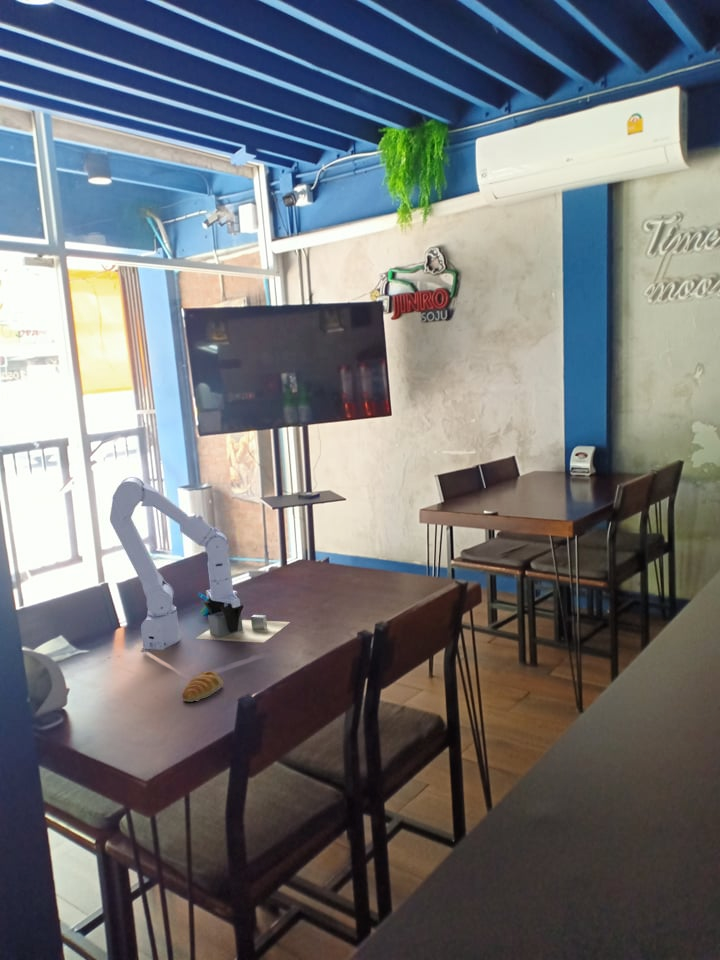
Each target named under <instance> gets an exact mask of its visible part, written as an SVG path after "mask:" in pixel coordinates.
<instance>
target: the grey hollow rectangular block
mask: <svg viewBox="0 0 720 960" xmlns="http://www.w3.org/2000/svg"><path fill="white" fill-rule="evenodd" d="M207 618H208V627H209V629H210V634H212V635H214V636H216V637H218V638H221V637H224V636H227V635H230V634H233V633H236V632H239V631H243V626H242V620H243V619H242V613H241V614H240V617H239V623H238V630H237V631H235V632H232V633H230V632H229V630H228V627H227V622H226V619H225V616H224V614H223V612H222V611H221V612H218V613H214V614H207ZM209 629H208V630H209Z"/></svg>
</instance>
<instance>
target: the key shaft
mask: <svg viewBox="0 0 720 960" xmlns="http://www.w3.org/2000/svg"><path fill="white" fill-rule="evenodd" d="M250 620H251V622H252V630H265V629H267V621H268V620H267V615H264V614H253V615H252V616H250Z"/></svg>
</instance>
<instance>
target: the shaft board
mask: <svg viewBox="0 0 720 960" xmlns="http://www.w3.org/2000/svg"><path fill="white" fill-rule="evenodd" d="M266 621H267V629H265V630H252V622H251V619H242V626H243V631H239V632H236V633H233V634H230V635H227V636H224V637H221V638H218V637H216V636H214V635H212V634H210V629H207V630H206V631H205V632H203V633H202V634H200V635H198V636H197V637H195V639H196V640H197V639H198V640H215V641H225V642H226V641H228V642H231V641H232V642H243V643H244V642H245V643H246V642H247V643H262V644H264V643H266V642H267V641H268V640H269V639H271V638H272V637H273V636H274V635H276V634H277V633H279V632H280V631H281V630H282V629H283V628H285V627H286V626H288V625H290V623H291V622H290V621H276V620H275V621H273V620H266Z"/></svg>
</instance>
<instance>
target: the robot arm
mask: <svg viewBox="0 0 720 960" xmlns="http://www.w3.org/2000/svg"><path fill="white" fill-rule="evenodd" d="M111 500H112V502H111V507H110V514H109V521H110V524H111V526H112V528H113V529H114V532H115V534H116V535H117V538H118V540H119V541H120V543H121V545H122V548H123V549H124V551H125V554H126V555H127V557H128V559H129V561H130V563H131V565H132V567H133V569H134V571H135V573H136V575H137V576H138V578H139V580H140V582H141V586H142V590H143V593H144V595H145V598H146V608H147V614H146V615H147V616H146V618H145V620H144V621H142V622H141V624H140V633H141V634H140V635H141V642H142V648H141V649H140V651H141V652H146V653H147V652H149V650H155V651H156V650H157V651H158V650H159V651H163V650H165V649H167V648H168V647H170V646H172V645H174V644H176V643H177V644H178V642H180V641H181V637H180V627H179V626H180V625H179V618H178V611H177V606H175V604H173V598H174V593H175V591H174V588H173V587H172V586H171V585H170V583H168V582H166V580H165V579H164V577H163V575H162V574H161V573H160V572H159V570H158V568H157V566H156V565H155V563H154V560H153V558H152V556H151V555H150V553H149V550H148V549H147V547H146V545H145V543H144V540H143V539H142V537H141V534H140V533H139V531H138V529H137V526H136V525H135V522H134V521H133V519H132V516H133V514H134V511H135V509H136V507H137V506H138V505H139V504H140V503H141V502H142V503H141V505H140V506H141V507H152V508H154V509H156V510H157V511H159V512H161V513H162V514H163V515H165V516H167V517H168V518H170V519H171V521H172V520H173V521H174V522H175V523H177V524H178V525H179V531H180V533H181V534H183V535H184V536H186V537H187V538H189V539H190V540H191V541H192V542H194V543H195V544H196V545H198V546H199V547H203V548H204V550H205V553H206V554H207V570H208V579H209V588H210V589H207V590H206V591H205V593H206V595H205V596H206V597H207V598H209V600H207V601H205V600H204V601H203V602H204V603H203V605H204V606H205V605H206V607H207V608H208V610H209V612H208V613H210V614H209V615H211V614H214V613H218V612H221V611H222V612H223V614H224V616H225V619H226V622H227V627H228V630H229V632H230V633H232V632H235V631H237V630H238V623H239V617H240V614H241V615H242V612H243V609H244V604H243V603H241V600H240V598H238V596H237V595H238V591H237V590H234V588H233V587H234V586H233V579H232V577H233V576H232V570H231V560H230V558H229V557H230V555H229V552H228V551H229V549H230V548H229V547H230V545H229V543H228V542H229V541H228V538H227V536H226V535H225V534H224V532H222V531H221V530H219V529H218V528H217V527H216V526H214V527H213V526H212V525H211V524H209V523H208V522H206V521H205V520H204V517H203V516H202V515H201V514H196V513H190V514H189V513H186V512H185V511H183V510H182V509H181V508H179V506H177V505H176V503H173V502H172V501H171V500H170V499H168V497H167V496H165V495H164V494H163V493H162V492H160V491H159V490H158V489H156V488H155V487H153V486H152V485H150V484H149V483H147V482H145V483H144V481H143V480H142V479H140V478H139V477H136V476H129V477H126V478H125V479H122V481H121V483H120V484H119V485H118V486H117V488H116V490H115V492H114V493H113V496H112V499H111ZM225 604H226V605H225Z"/></svg>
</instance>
